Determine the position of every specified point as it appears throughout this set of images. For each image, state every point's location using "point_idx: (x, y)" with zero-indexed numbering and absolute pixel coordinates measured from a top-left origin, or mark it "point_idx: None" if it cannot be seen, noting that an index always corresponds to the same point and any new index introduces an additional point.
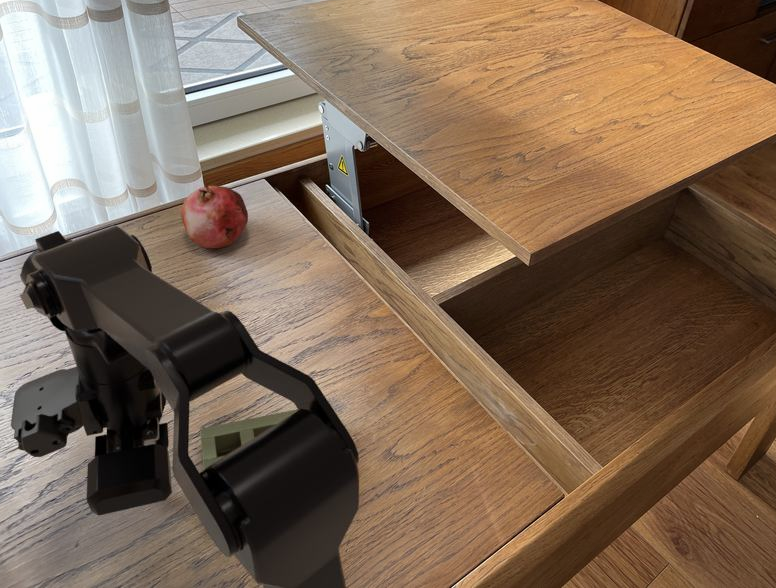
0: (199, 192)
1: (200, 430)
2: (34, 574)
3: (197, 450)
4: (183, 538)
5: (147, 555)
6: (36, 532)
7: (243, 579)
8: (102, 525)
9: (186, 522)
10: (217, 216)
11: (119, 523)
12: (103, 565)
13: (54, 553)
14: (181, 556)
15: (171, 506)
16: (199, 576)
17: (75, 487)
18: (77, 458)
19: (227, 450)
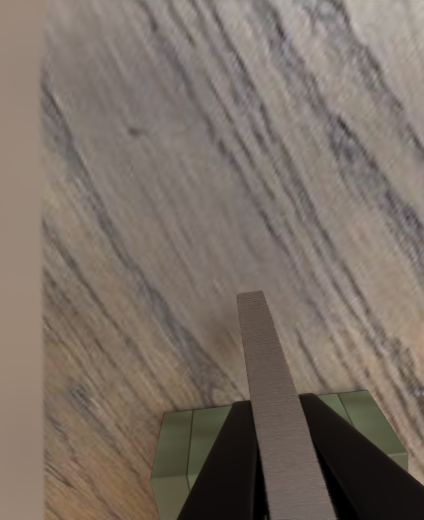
0: None
1: (401, 454)
2: (56, 32)
3: (360, 378)
4: (135, 365)
5: (99, 299)
6: (179, 4)
7: (45, 467)
8: (183, 187)
9: (173, 368)
10: None
11: (185, 227)
12: (77, 207)
13: (113, 74)
14: (94, 364)
15: (216, 336)
16: (51, 398)
17: (310, 91)
18: (412, 76)
19: None
